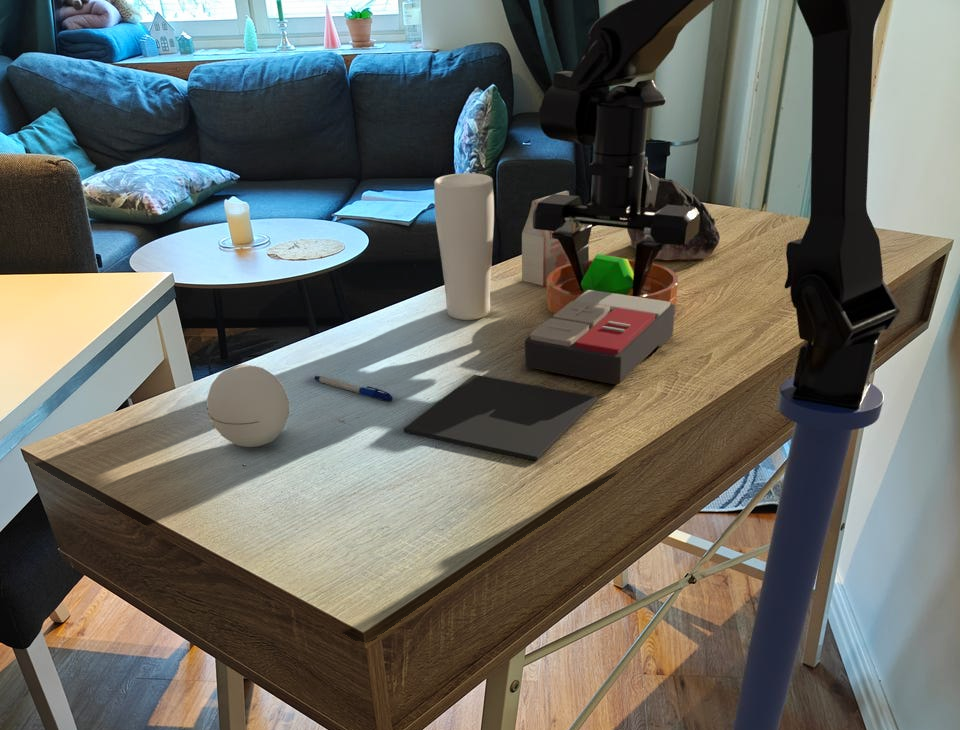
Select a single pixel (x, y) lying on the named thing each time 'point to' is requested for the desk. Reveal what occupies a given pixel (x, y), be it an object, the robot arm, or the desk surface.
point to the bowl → (656, 287)
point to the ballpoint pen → (356, 388)
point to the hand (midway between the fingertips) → (610, 294)
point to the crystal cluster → (708, 233)
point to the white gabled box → (540, 251)
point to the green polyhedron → (609, 275)
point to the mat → (502, 416)
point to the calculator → (600, 336)
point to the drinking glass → (465, 241)
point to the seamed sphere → (248, 405)
